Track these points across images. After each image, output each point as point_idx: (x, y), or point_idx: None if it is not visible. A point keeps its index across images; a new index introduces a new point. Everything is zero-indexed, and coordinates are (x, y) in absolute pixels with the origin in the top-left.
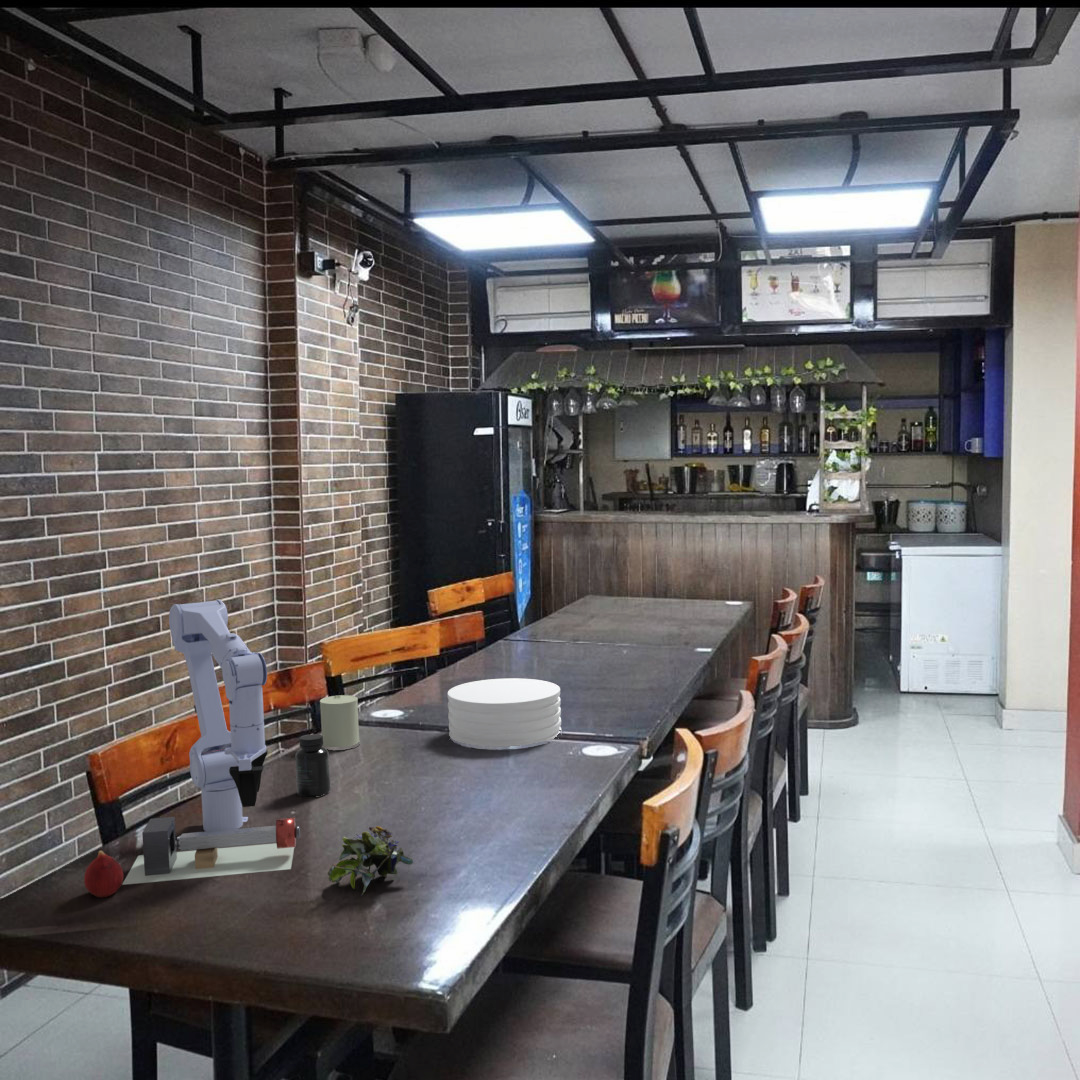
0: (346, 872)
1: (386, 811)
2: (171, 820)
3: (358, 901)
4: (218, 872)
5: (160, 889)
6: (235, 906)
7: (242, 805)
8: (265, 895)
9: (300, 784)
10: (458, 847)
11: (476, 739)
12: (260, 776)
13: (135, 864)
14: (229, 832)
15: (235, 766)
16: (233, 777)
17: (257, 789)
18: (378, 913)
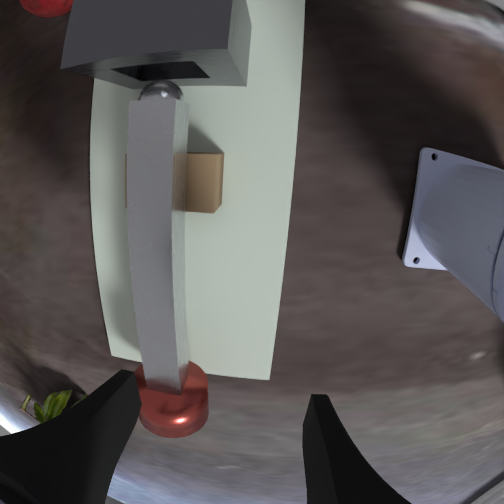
0: (45, 412)
1: (379, 468)
2: (173, 46)
3: (41, 394)
4: (108, 214)
5: (90, 85)
6: (11, 251)
7: (117, 372)
8: (42, 299)
9: None
10: (196, 499)
11: (501, 490)
12: (307, 483)
13: None
14: (142, 274)
15: (38, 501)
16: (5, 439)
17: (303, 431)
18: (22, 398)
